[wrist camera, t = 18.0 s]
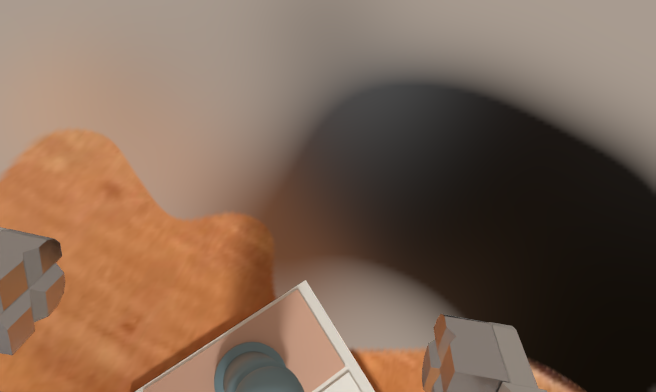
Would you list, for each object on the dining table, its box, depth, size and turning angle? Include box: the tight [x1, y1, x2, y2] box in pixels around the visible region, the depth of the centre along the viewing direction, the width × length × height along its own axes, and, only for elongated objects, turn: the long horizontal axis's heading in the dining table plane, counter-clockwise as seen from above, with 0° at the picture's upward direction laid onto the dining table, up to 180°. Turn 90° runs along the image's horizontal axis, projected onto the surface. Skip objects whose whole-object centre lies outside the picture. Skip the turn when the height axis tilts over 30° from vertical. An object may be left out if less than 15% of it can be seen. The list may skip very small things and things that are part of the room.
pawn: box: [214, 342, 304, 392], centre depth 29 cm, size 5×5×13 cm
